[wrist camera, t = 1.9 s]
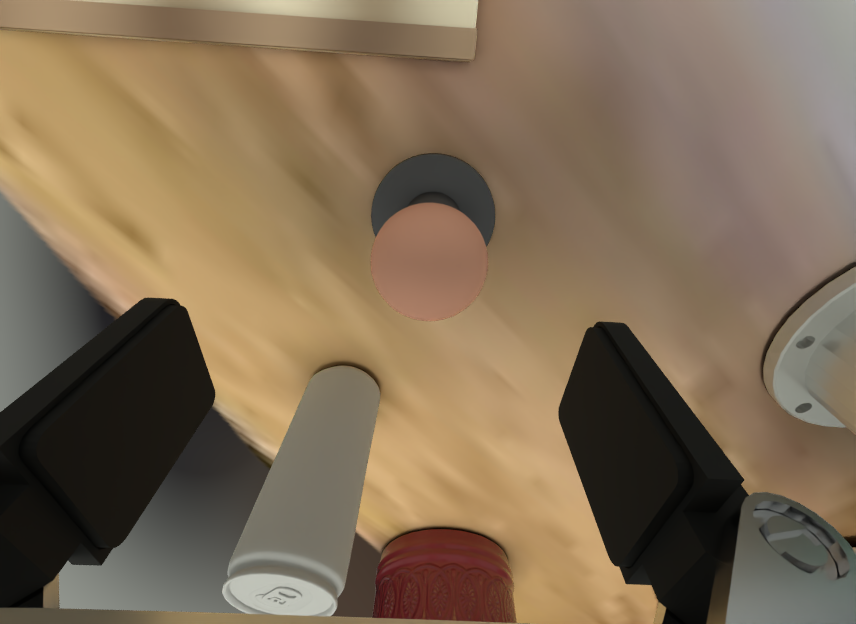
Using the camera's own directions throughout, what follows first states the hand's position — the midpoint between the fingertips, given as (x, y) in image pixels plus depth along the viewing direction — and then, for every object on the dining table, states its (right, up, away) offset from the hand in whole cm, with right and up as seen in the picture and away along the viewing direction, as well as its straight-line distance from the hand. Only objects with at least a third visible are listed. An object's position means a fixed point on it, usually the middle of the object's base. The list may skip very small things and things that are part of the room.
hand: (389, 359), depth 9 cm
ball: (+1, +4, +7) cm, 8 cm away
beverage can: (-5, -4, +16) cm, 17 cm away
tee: (+1, +6, +9) cm, 11 cm away
